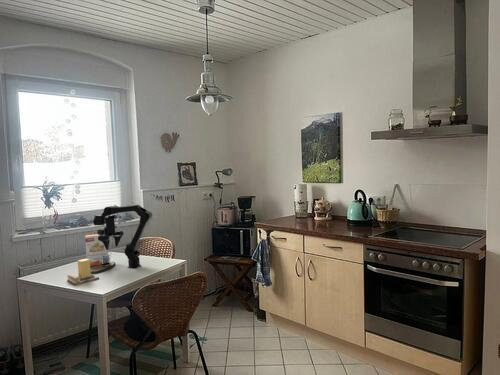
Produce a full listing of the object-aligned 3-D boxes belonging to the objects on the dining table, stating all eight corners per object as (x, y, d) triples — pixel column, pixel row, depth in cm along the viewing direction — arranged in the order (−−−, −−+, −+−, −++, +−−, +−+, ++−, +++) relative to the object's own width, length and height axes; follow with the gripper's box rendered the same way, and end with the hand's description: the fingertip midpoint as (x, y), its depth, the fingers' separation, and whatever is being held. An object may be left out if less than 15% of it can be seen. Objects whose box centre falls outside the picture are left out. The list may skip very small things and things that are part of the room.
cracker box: (86, 266, 253) (84, 236, 251) (87, 264, 258) (85, 235, 257) (108, 264, 258) (106, 234, 256) (108, 262, 263) (106, 232, 262)
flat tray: (90, 275, 232) (89, 269, 232) (99, 279, 224) (98, 272, 224) (67, 281, 222) (66, 274, 221) (75, 285, 214) (75, 278, 213)
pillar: (87, 276, 227) (85, 258, 226) (90, 277, 224) (89, 259, 223) (78, 278, 223) (77, 260, 223) (82, 279, 220) (81, 261, 219)
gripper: (110, 222, 258) (111, 244, 259) (90, 227, 241) (92, 251, 242) (123, 222, 255) (124, 245, 256) (104, 227, 237) (106, 251, 238)
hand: (111, 248), depth 248 cm, fingers open, 9 cm apart
